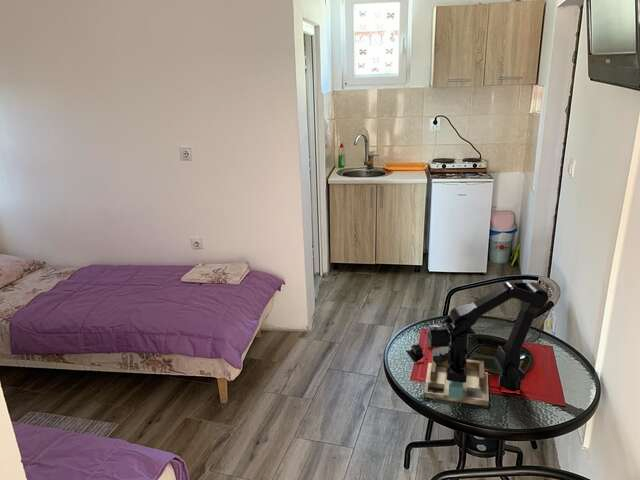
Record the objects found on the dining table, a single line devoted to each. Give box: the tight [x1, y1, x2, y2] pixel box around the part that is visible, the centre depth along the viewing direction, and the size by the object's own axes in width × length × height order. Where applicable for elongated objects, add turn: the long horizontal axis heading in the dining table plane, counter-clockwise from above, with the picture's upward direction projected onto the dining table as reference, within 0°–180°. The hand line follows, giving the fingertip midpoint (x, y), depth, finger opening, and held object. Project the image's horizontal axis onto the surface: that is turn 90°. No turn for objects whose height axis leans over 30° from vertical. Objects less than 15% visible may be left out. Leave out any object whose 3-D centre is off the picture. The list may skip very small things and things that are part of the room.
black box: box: [406, 343, 424, 364], centre depth 195 cm, size 12×7×5 cm, turn 13°
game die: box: [424, 322, 444, 334], centre depth 202 cm, size 9×8×10 cm
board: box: [423, 362, 490, 407], centre depth 176 cm, size 21×18×2 cm
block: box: [448, 381, 463, 399], centre depth 168 cm, size 4×4×4 cm
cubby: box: [430, 357, 485, 387], centre depth 179 cm, size 18×10×4 cm, turn 74°
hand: (455, 383), depth 172 cm, fingers closed
